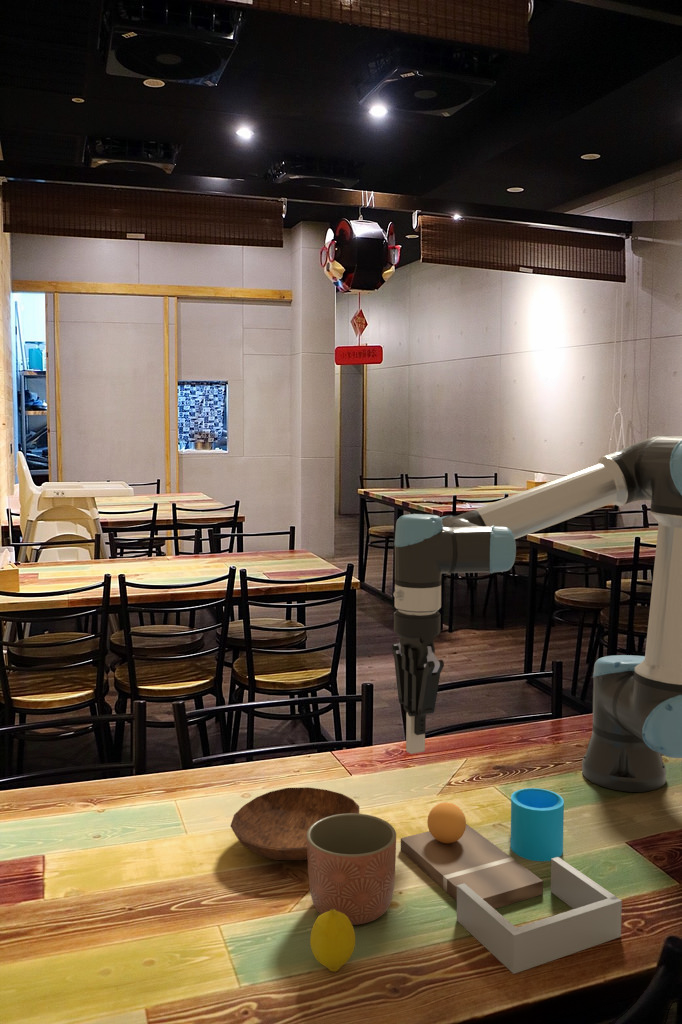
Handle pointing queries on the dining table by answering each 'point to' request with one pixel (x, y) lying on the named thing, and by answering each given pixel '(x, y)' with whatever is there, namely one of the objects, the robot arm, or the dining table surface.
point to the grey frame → (545, 921)
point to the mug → (537, 824)
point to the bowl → (286, 820)
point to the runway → (473, 867)
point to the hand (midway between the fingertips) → (415, 750)
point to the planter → (352, 865)
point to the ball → (446, 822)
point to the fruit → (332, 939)
